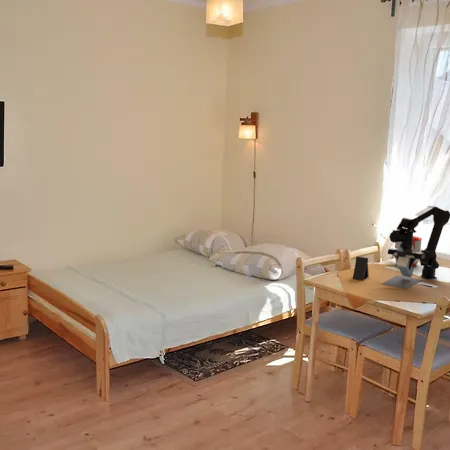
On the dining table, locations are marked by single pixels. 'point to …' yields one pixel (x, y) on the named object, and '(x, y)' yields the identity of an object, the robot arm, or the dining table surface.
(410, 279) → the rubber mat
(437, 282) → the dining table surface
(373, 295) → the dining table surface
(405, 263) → the tall block
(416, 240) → the citrus juicer
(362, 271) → the black picture frame
